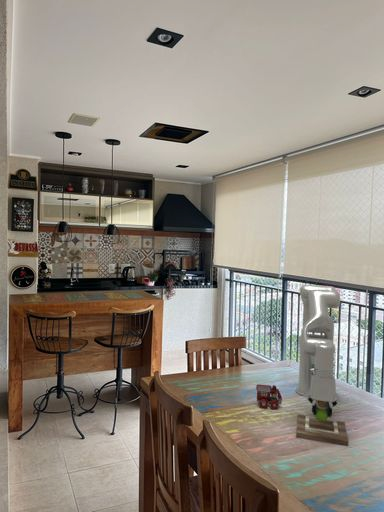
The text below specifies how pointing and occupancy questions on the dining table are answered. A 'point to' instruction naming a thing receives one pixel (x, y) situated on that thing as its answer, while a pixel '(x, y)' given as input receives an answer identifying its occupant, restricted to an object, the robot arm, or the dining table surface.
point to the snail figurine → (321, 411)
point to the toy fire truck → (268, 396)
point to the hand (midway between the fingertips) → (321, 414)
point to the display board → (321, 430)
